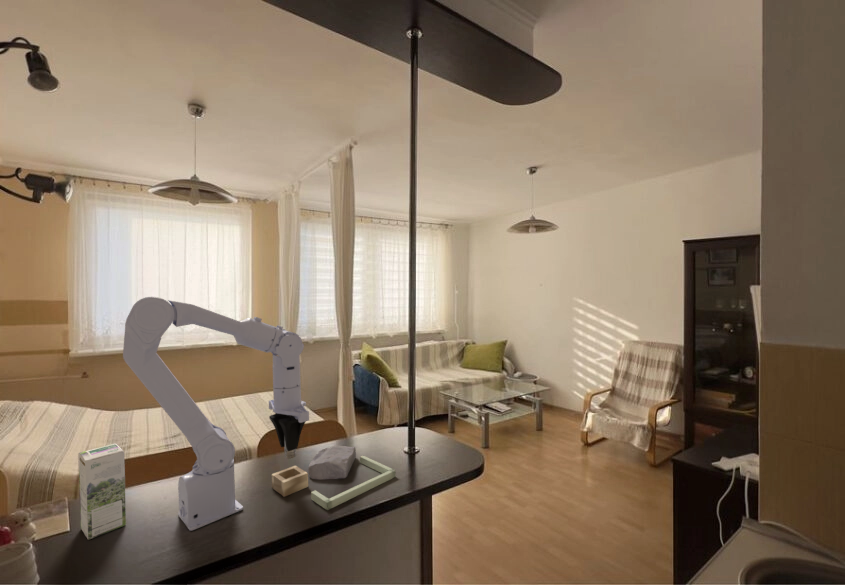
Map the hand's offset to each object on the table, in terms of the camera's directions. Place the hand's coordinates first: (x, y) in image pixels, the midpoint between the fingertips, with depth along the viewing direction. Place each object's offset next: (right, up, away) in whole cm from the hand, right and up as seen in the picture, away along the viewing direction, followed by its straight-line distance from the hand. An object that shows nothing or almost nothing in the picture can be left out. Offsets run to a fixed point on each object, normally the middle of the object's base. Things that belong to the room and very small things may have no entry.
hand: (289, 447), depth 86 cm
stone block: (+7, -9, +9) cm, 15 cm away
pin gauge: (0, -2, 0) cm, 2 cm away
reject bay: (+12, -8, +2) cm, 15 cm away
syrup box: (-30, -10, -13) cm, 34 cm away
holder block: (0, -9, 0) cm, 9 cm away
